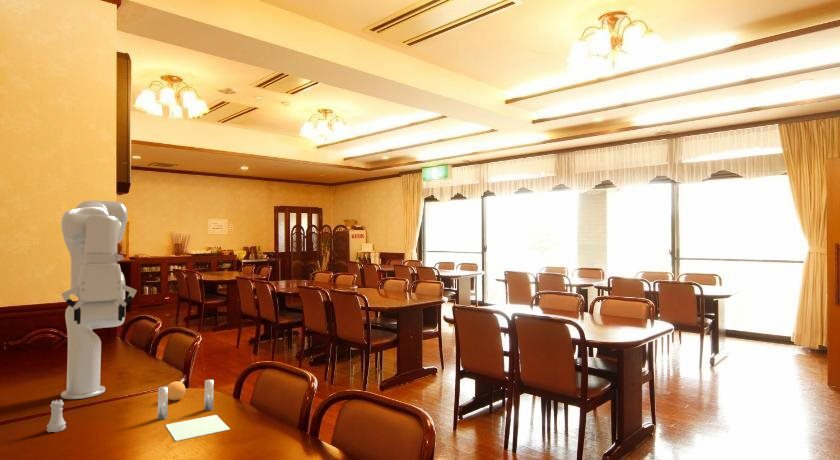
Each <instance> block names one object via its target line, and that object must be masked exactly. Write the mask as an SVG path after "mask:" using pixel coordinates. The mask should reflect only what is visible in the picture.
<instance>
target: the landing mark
mask: <svg viewBox="0 0 840 460" xmlns="http://www.w3.org/2000/svg"><path fill="white" fill-rule="evenodd" d="M164 426H165V428H166V429H167V430H168V432H169V434H170V435H171V437H172V438H173V440H174V442H180V441H185V440H188V439H193V438H199V437H204V436H208V435H211V434H212V435H213V434H217V433H221V432H225V431H230V430H231V428H230V427H229V426H228V425H227V424H226V423H225V422H224V421H223V420H222V419H221V418H220V417H219V415H217V414H213V415H207V416H203V417H199V418H198V417H197V418H193V419H189V420H182V421H177V422H172V423H169V424H165V425H164Z"/></svg>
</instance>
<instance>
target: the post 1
mask: <svg viewBox="0 0 840 460" xmlns="http://www.w3.org/2000/svg"><path fill="white" fill-rule="evenodd" d="M168 403H169V399H168V387H167V386H160V387H158V388H157V420H167V418H168V410H169V409H168Z"/></svg>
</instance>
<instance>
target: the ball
mask: <svg viewBox="0 0 840 460" xmlns="http://www.w3.org/2000/svg"><path fill="white" fill-rule="evenodd" d="M185 386H186V385H185V384H184V383H183V382H181V381H172V382H170V383H169V384H168V385H167V386H166V387H168V400H171V401H178V400H180V399H182V398H183V397H184V395H185V393H186V387H185Z"/></svg>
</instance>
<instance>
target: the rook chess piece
mask: <svg viewBox="0 0 840 460" xmlns="http://www.w3.org/2000/svg"><path fill="white" fill-rule="evenodd" d="M63 400H64V399H55V400H52V401H51V402H50V403H51V404H50V405H49V406H50V408H51V410H50V412H51V415H50V420H49V421H48V424H47V425H46V431H47V432H48V433H50V432H54V433H59V432H62V431H64V430H66V428H67V426H66V424H67V422H66V421H65V419H64V417H63V410H64V408H63V406H64V405H65V403H64V402H63Z"/></svg>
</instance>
